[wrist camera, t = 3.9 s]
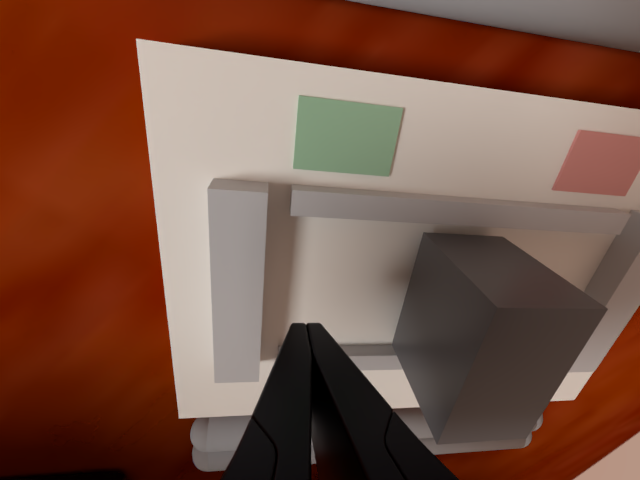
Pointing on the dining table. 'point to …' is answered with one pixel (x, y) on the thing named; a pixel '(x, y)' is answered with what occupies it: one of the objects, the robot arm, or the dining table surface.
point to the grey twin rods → (492, 10)
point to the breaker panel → (363, 207)
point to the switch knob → (487, 336)
